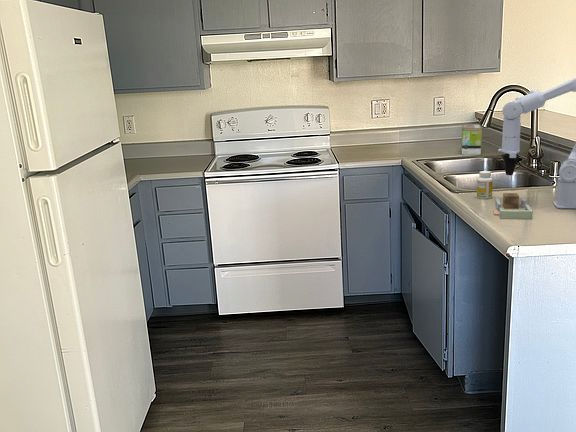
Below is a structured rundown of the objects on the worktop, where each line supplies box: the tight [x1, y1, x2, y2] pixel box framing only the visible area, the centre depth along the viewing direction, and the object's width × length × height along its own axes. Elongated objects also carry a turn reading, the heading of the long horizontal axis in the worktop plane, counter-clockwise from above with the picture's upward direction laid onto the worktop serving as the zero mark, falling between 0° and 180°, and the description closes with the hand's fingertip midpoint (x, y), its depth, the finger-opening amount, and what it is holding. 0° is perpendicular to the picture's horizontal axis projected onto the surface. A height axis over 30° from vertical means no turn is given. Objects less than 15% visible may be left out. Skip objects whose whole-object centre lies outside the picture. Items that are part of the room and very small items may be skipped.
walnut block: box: [502, 192, 520, 210], centre depth 194 cm, size 4×4×4 cm
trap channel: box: [492, 197, 533, 220], centre depth 188 cm, size 12×18×2 cm
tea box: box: [460, 124, 483, 156], centre depth 303 cm, size 15×10×15 cm
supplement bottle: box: [476, 170, 494, 200], centre depth 208 cm, size 5×5×10 cm
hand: (509, 174), depth 198 cm, fingers closed
